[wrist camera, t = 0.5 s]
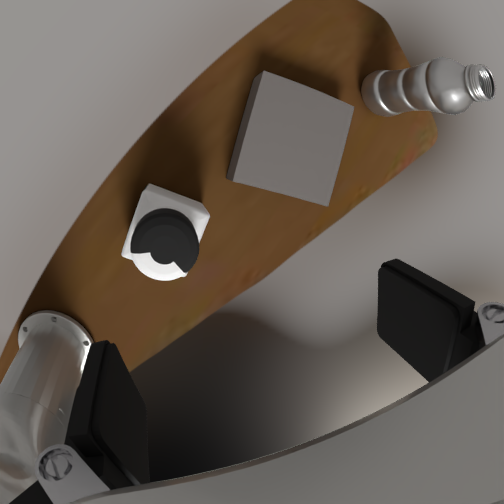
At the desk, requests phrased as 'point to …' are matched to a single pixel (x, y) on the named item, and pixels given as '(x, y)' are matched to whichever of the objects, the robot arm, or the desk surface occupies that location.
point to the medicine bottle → (165, 233)
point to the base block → (290, 139)
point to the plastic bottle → (428, 88)
